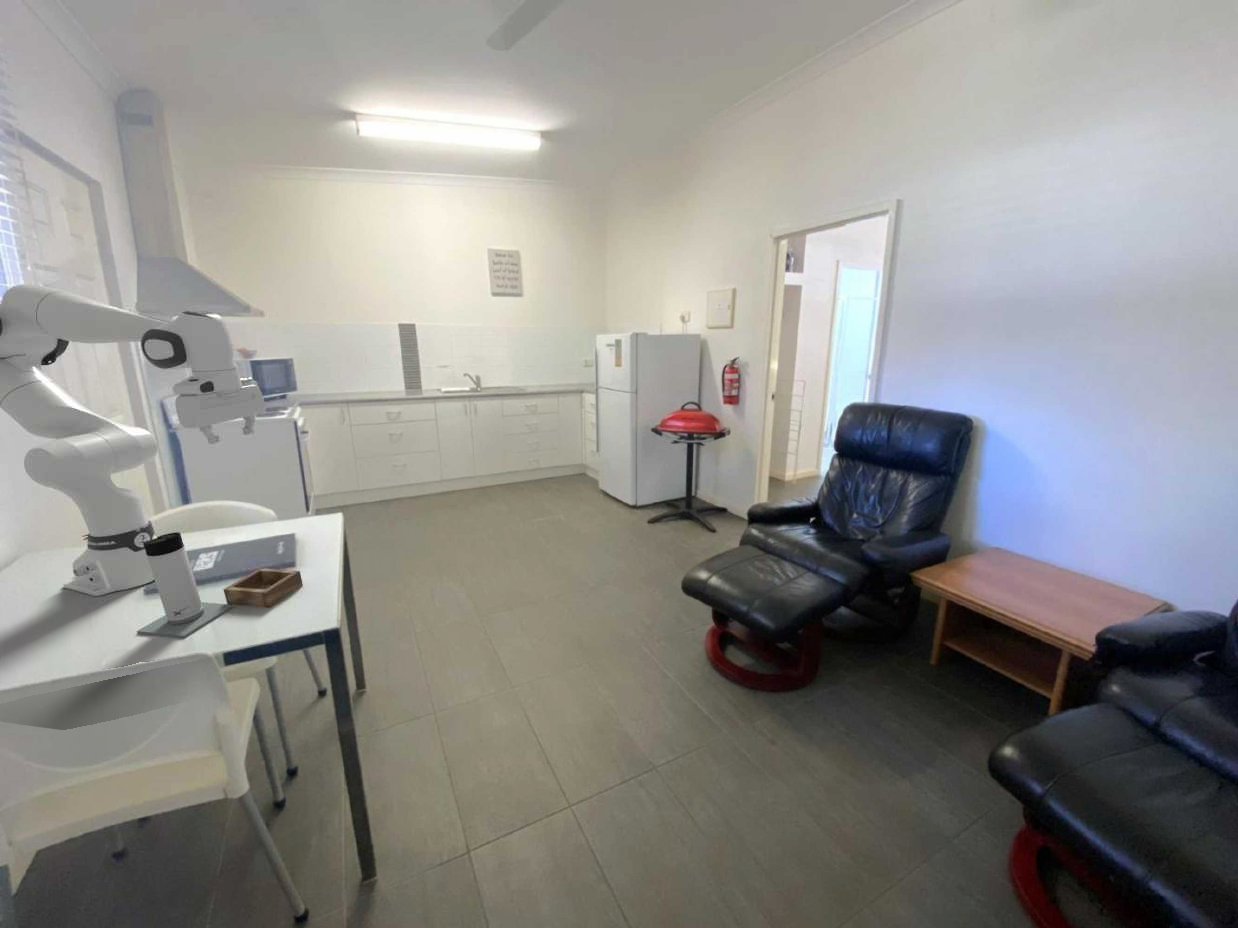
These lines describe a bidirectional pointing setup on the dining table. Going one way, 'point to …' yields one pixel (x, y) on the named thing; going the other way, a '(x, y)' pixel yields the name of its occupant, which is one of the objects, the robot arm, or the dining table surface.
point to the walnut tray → (250, 595)
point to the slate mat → (184, 630)
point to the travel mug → (174, 578)
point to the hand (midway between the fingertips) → (232, 438)
